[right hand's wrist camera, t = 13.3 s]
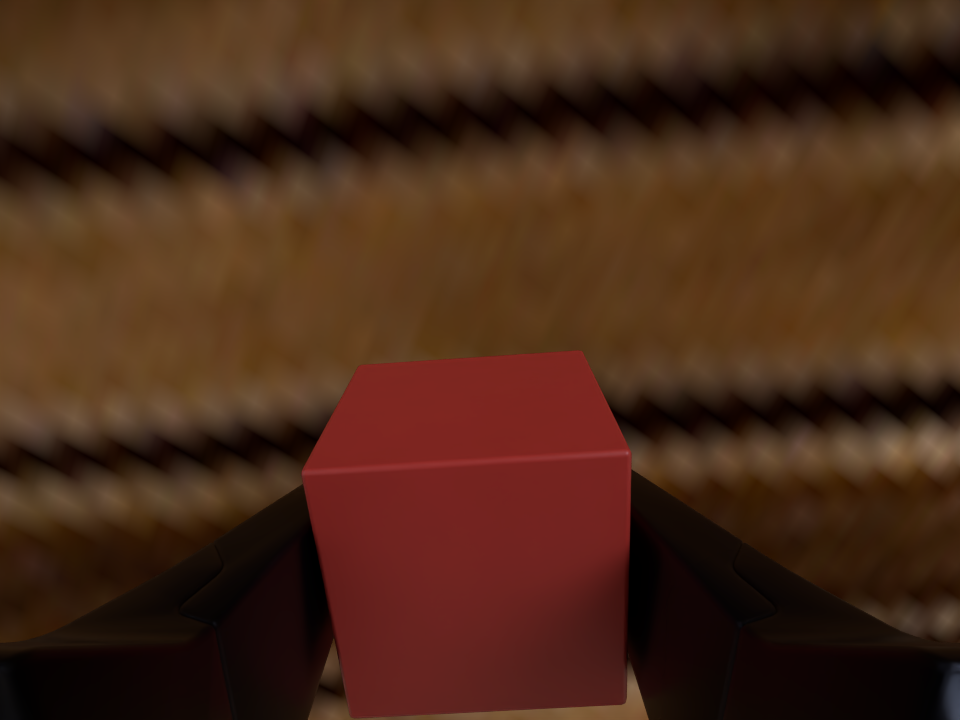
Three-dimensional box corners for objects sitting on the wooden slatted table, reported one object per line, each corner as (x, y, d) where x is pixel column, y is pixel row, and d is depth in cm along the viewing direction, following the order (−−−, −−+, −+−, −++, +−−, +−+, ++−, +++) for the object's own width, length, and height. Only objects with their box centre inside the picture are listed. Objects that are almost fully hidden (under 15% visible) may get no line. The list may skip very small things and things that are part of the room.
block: (583, 348, 11) (633, 450, 8) (584, 542, 13) (627, 707, 9) (357, 363, 11) (297, 471, 8) (386, 554, 13) (348, 721, 9)
